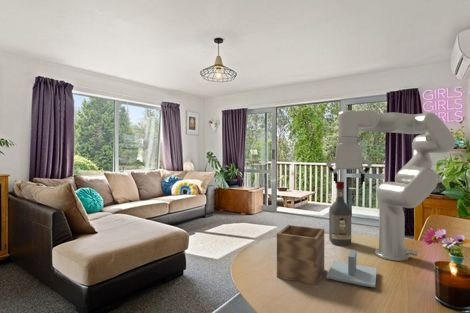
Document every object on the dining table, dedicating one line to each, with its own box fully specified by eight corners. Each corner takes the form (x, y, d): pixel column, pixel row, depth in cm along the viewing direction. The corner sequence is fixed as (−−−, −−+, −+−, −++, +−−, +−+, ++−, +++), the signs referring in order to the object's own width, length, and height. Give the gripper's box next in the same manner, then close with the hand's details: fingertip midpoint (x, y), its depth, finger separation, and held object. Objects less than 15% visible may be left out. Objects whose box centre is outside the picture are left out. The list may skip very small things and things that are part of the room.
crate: (324, 269, 108) (324, 229, 107) (316, 285, 95) (316, 239, 95) (288, 263, 114) (288, 224, 114) (276, 276, 102) (276, 233, 101)
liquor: (328, 239, 145) (328, 180, 145) (346, 240, 144) (346, 180, 144) (332, 245, 136) (332, 182, 136) (352, 245, 135) (352, 182, 135)
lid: (376, 274, 104) (376, 250, 104) (375, 291, 91) (375, 264, 91) (333, 266, 111) (333, 244, 111) (326, 281, 98) (326, 256, 98)
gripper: (371, 140, 115) (372, 183, 115) (327, 142, 122) (328, 181, 123) (372, 140, 108) (372, 185, 108) (324, 141, 116) (325, 183, 116)
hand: (348, 183), depth 116 cm, fingers open, 9 cm apart
